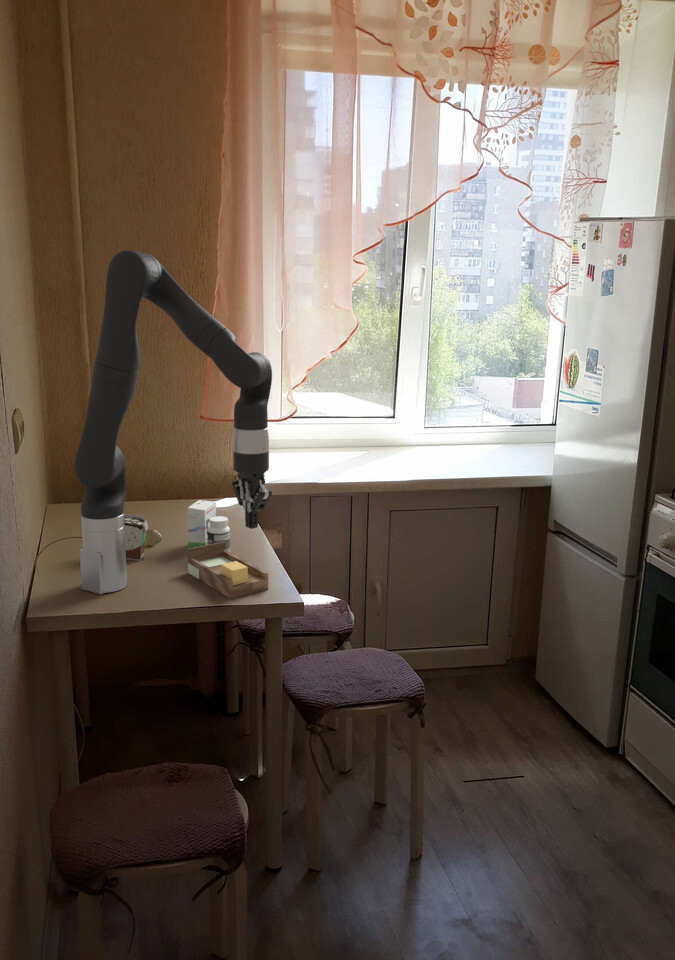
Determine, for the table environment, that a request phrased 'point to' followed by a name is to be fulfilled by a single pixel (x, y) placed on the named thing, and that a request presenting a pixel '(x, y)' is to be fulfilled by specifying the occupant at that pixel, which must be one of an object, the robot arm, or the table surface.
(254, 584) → the board
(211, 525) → the pill bottle
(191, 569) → the pad
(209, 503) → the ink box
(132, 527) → the food container
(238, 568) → the ochre block
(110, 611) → the table surface
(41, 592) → the table surface
